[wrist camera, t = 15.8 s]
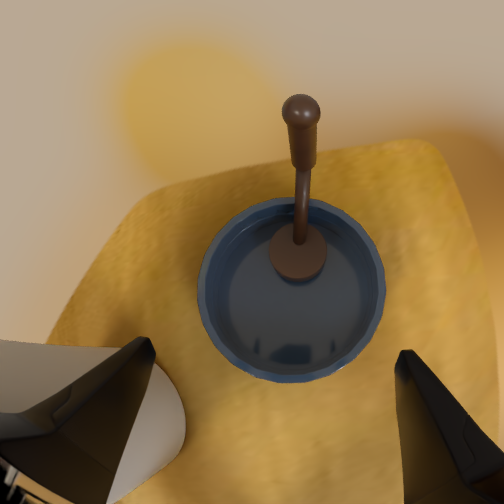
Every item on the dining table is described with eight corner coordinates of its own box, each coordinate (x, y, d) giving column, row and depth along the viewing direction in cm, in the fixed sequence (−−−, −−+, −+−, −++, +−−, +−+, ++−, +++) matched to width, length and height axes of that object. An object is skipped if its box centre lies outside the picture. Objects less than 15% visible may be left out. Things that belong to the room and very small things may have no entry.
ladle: (322, 285, 22) (339, 230, 11) (266, 277, 23) (226, 217, 12) (332, 196, 24) (344, 90, 12) (281, 190, 25) (259, 85, 13)
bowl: (353, 389, 20) (362, 399, 16) (197, 351, 23) (177, 353, 20) (382, 233, 23) (394, 214, 20) (236, 206, 26) (225, 185, 23)
